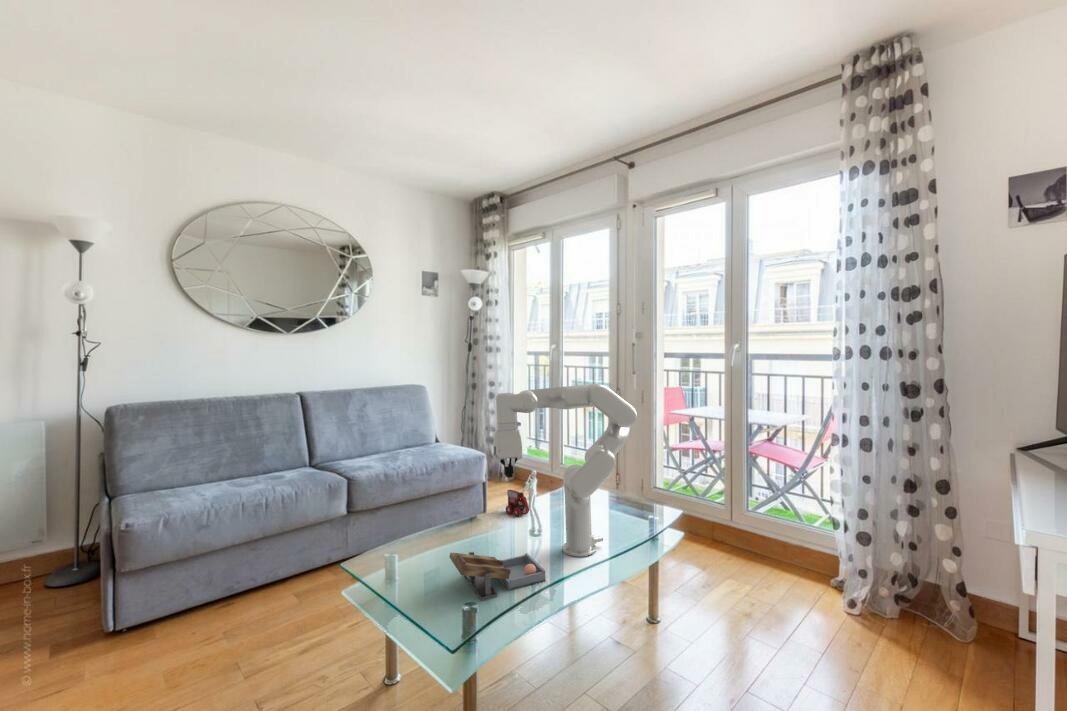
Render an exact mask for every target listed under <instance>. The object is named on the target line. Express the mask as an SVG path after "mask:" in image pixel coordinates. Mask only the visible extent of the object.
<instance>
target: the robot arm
mask: <svg viewBox="0 0 1067 711" xmlns="http://www.w3.org/2000/svg"><path fill="white" fill-rule="evenodd" d="M495 400H496V401H495V403H496V406H495V408H496V429H497V430H494V435H493V443H492V444H493V446H492V447H493V448H492V450H493V451H492V452H493V457H494V458H493V462H494V463H500V464H501V465H503V472H504V476H505V477H506V478H513V475H514V466H515V464H516V463H517V462H518V461H520V460H522V459H523V442H522V437H521V432H520V429H519V427H520V426H522V422H521V421H520V422H519V421H518V413H523V414H530V413H533V412H535V411H536V410H537V409H547V408H551V409H557V410H558V409H559V410H573V409H582V408H593V407H594V408H596V409H597V410H598V411H599V412H601V413H602V414H603V415H605V416H606V417H607V418H608V424H607V427H606V429H605V431H603V433H602V434H601V435H600V437H598V439H596V440H595V442H594V443H593V444H592V445H590V447H589V448H588V449H587V450H586V452H585V453H584V461H585V463H584V464H583V465H581V464H577V463H574V464H571V465H569V466H568V467H567V468H566V469H565V471H564V473H563V476H562V478H563V480H562V482H563V491H564V506H565V508H564V509H565V510H564V511H565V512H564V513H565V538H566V540H565V541H566V542H565V543H563V544H562V552H563V553H564V554H566V555H568V556H571V557H578V558H579V557H581V558H583V557H588V555H589V556H592V555H593V554H595V553H596V551H597V546H596V544H597V543H600V542H603V541H604V537H603V536H602V535H599V536H597V535H596V534H594V535H592V507H591V506H592V505H591V502H592V501H591V496H592V494H594V493H595V492H596V491H597V490H598V489H599V488H600V487H601V486H602V485H603V483H605V482H606V480H608V478H609V477H610V476H611V475H612V474H613V472H614V471H615V468H616V465H617V464H616V462H617V461H616V457H615V456H616V455H617V453H618V452H619V451H620V450H621V449H622V448H623V446H624V445H625V444H626V443H627V441H628V439H629V435H630V429H631V427H632V426H634V425H635V423H636V422H637V419H638V414H637V413H638V412H637V411H636V409H635V407H633V405H631V404H630V403H628V402H627V401H626V400H624V399H623V398H622V397H621V396H620V395H618V394H617V393H615V392H614V390H612V389H611V388H609V387H608V386H606V385H604V384H600V383H587V384H579V385H577V384H576V385H570V386H569V385H567V386H557V387H550V388H549V387H547V388H536V389H527V390H522V391H520V392H519V393H514V392H501V393H500V392H499V393H498V394H497V395H496V397H495ZM591 554H592V555H591Z"/></svg>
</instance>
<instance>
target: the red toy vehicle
mask: <svg viewBox="0 0 1067 711" xmlns="http://www.w3.org/2000/svg"><path fill="white" fill-rule="evenodd" d="M506 493H507V494H506V495H507V505H506V507H505V513H506V514H507V515H512V514H513V515H514V517H516V518H519V517H521V515H522V514H525V515H526V514H529V512H530V508H529V507H530V506H529V503H528V501H527V498H526V496H525V493H524V492H523V491H517V490H513V489H507V492H506Z"/></svg>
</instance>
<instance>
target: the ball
mask: <svg viewBox="0 0 1067 711" xmlns="http://www.w3.org/2000/svg"><path fill="white" fill-rule="evenodd" d="M524 573H525V575H530V574H534V573H536V567H535V566H534V565H533V564H527V565H526V566H525V568H524Z"/></svg>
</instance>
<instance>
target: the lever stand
mask: <svg viewBox="0 0 1067 711" xmlns="http://www.w3.org/2000/svg"><path fill="white" fill-rule="evenodd" d="M468 554H470V555H475V552H474V551H469V552H468ZM463 576H464V577H465V579H466V580H467V582H468V583H469V586H470V587H471V588H472V589H473V591H474V593H475V595H477V597H478V599H479V600H480V601H481V602H483V601H488V600H490V599H495V598H497V597H498V596H497V592H496V591H495V590H494V588H493V587H492V583H491V578H490V572H486V573H484V577H479V576H467V575H463Z"/></svg>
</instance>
